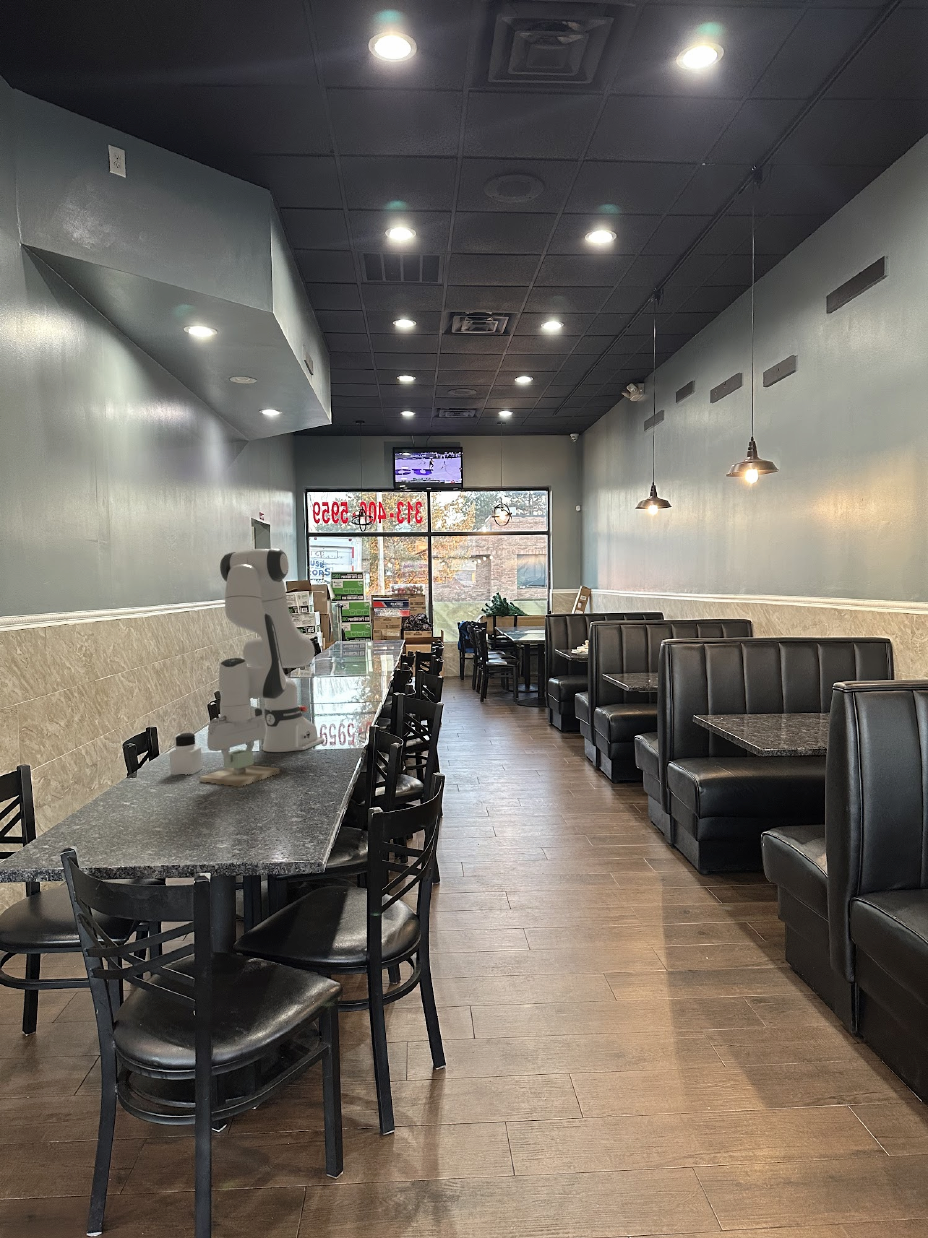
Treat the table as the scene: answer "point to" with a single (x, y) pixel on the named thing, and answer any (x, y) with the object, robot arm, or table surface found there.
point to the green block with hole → (240, 759)
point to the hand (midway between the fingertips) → (238, 759)
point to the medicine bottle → (185, 755)
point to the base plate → (239, 775)
